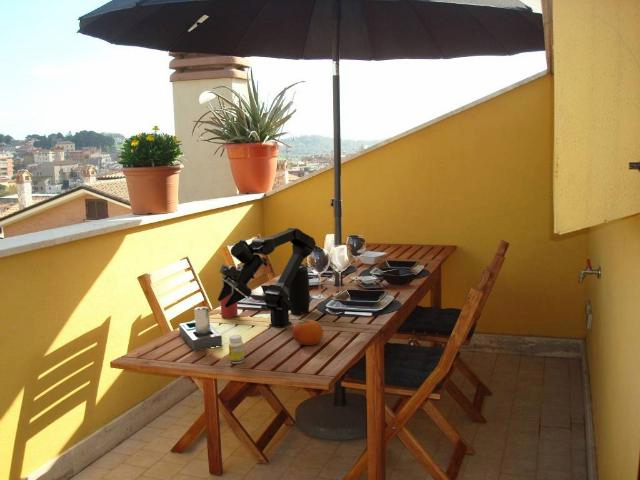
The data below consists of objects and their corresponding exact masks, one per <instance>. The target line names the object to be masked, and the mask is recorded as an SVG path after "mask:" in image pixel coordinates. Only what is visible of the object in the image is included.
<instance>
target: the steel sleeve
mask: <svg viewBox="0 0 640 480" xmlns="http://www.w3.org/2000/svg"><path fill="white" fill-rule="evenodd" d="M193 312H194V321H195V327H196V337H201V336H207V335H211V334H210V325H211V323H210V309H209V307H208V306H199V307H195V308H194V309H193Z"/></svg>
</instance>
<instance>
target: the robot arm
mask: <svg viewBox="0 0 640 480" xmlns="http://www.w3.org/2000/svg"><path fill="white" fill-rule="evenodd" d="M289 242H290V243H291V245H292V246H291V248H292V254H291V256H290V257H289V260H288V262H287V264H286V265H285V267H284V269H283V271H282V273H281V274H280V276H279V278H278V280H277V282H276V283H275V284H271V283H270V284H269V285H268V287H267V290H266V291H265V293H264V294H265V295H264V299H263V300H264V303H265V305H266V308H267V309H268V310H270V313H269V315H270V323H269V325H268V326H271V327H276V328H281V329H282V328H285V327H287V326H289V325H291V324H292V321H290V313H289V312H291V311H290V310H291V309H292V303H291V302H290V301H289V300H288V297H289V292H288V289H289V287H290V285H291V283H292V281H293V279H294V277H295V275H296V273H297V271H298V269H299V267H300V266H301V264H303V262H304V260H305V259H306V258H308V257H309V256H311V254H312V253H313V252H314V251H315V249H316V241H315V238H314V237H312V236H310V235H309V234H307V233H304V232H303V231H302V230H301V229H299V228H297V227H288V228H287V229H285V230H282V231H280V232H278V233H276V234H273V235H270V236H267V237H266V236H265V237H256V238H254V239H252V240H251V242H250V243H248V242H247V241H246V240H244V239H240V240H239V241H238V242H236V243H235V244H234V245H233V246H232V247H231V249H230V254H231V256H232V257H234V258H235V259H236V260H237V261H238V262H240V263H241V265H238V266H237V267H236V266H233V265H231V264H230V265H226V264H223V263H222V265H221V267H220V270H219V273H220V274H221V275H222V276H221V278H222V279H221V281H222V282H221V283H222V287H221V288H222V290H221V289H220V291H221V292H219V295H218V298H217V301H218V302H220V301H221V300H223V299H224V298H225V297H227V296H228V295H230V294H231V295H230V297H229V298H228V300H227V302H226V304H225V307H229V306H231V305H233V304H234V303H236V302H237V303H238V302H240V301H242V300H244V299H247V298H250V296H252V294H253V292H252V289H251V288H250V287H249V286H248V284H249V282H250V281H252V280H254V279H255V275H256V274H257V272H258V271H259V270H260V268H261V267H262V266H264V267H268V261H267V260H268V259H267V258H266V257H261V255H262V256H268V255H270V254H272V253H273V252H274V251H275V250H276V248H278V247H280V246H282V245H284V244H287V243H289ZM233 287H235V288H233Z"/></svg>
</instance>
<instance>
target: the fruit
mask: <svg viewBox="0 0 640 480" xmlns="http://www.w3.org/2000/svg"><path fill="white" fill-rule="evenodd" d="M323 330H324V329H323V327H322V325H321V324H320V322H317V321H315V320H314V319H305V320H300V321H298V322H297V323H295V325H294V326H293V328H292V338H293V339H294V340H295V342H296V343H298V344H299V345H304V346H314V345H316V344H318V343H320V341H321V340H322V339H323V335H324V331H323Z"/></svg>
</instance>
